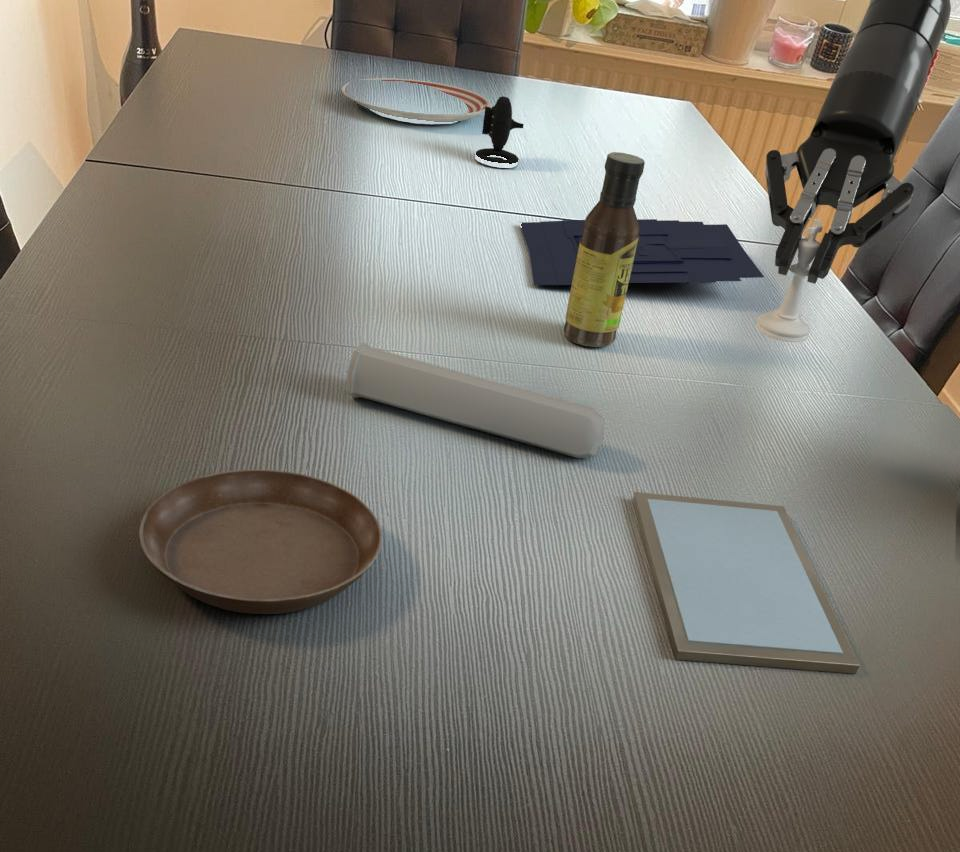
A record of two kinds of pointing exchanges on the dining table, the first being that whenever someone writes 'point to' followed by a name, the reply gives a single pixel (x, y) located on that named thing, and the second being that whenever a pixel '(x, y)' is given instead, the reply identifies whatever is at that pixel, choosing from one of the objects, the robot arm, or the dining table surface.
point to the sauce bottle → (605, 256)
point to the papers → (644, 252)
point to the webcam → (499, 131)
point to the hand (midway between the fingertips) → (797, 273)
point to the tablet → (739, 585)
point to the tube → (475, 402)
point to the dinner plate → (471, 99)
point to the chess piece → (793, 296)
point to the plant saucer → (260, 539)
